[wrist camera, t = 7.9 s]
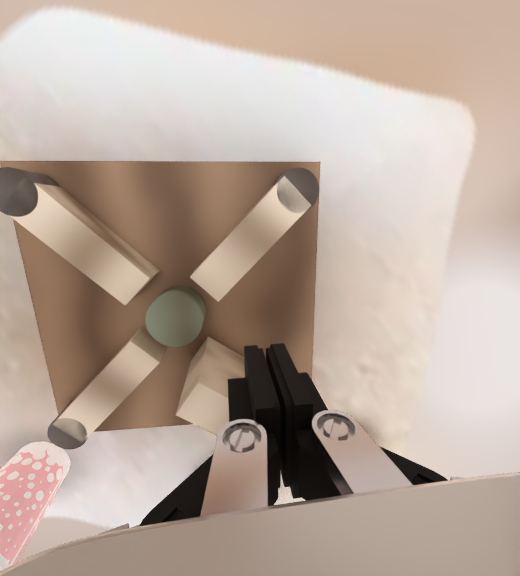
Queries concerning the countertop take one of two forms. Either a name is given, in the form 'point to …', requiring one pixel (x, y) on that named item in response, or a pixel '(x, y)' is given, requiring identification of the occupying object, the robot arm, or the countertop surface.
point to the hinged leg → (210, 386)
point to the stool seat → (159, 276)
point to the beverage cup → (27, 495)
